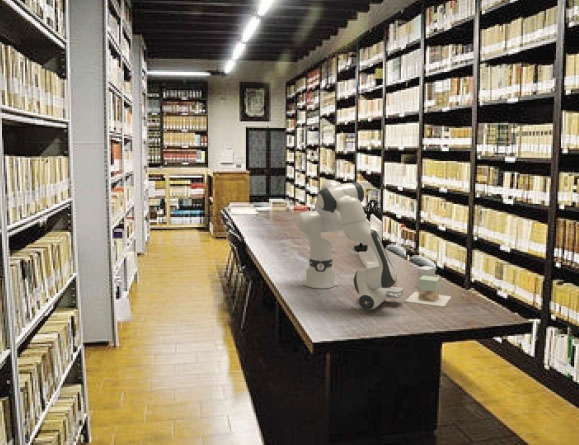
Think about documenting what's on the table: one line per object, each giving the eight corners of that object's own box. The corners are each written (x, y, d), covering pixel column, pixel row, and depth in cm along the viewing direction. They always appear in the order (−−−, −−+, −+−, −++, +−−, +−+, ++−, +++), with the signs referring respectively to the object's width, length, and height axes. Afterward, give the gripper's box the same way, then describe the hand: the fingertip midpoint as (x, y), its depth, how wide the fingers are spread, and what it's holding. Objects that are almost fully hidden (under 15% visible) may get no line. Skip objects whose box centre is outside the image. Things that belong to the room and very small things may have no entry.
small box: (425, 285, 291) (425, 265, 289) (434, 287, 287) (435, 267, 286) (416, 288, 285) (417, 267, 284) (426, 290, 282) (426, 269, 280)
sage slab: (418, 289, 262) (419, 279, 261) (422, 285, 269) (423, 275, 268) (435, 291, 259) (436, 281, 258) (439, 287, 266) (439, 277, 265)
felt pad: (405, 301, 261) (405, 300, 261) (414, 292, 277) (414, 291, 277) (444, 307, 253) (444, 306, 253) (451, 297, 269) (451, 296, 269)
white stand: (380, 269, 326) (382, 222, 322) (367, 269, 326) (368, 222, 322) (371, 257, 361) (372, 214, 357) (359, 256, 361) (360, 214, 357)
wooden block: (418, 299, 263) (418, 289, 262) (422, 295, 270) (422, 285, 269) (435, 301, 259) (435, 291, 259) (438, 297, 266) (439, 287, 266)
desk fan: (383, 254, 370) (385, 201, 365) (357, 254, 370) (358, 201, 365) (376, 246, 397) (378, 197, 392) (352, 246, 396) (353, 197, 391)
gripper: (399, 289, 249) (407, 282, 262) (356, 284, 258) (366, 277, 271) (399, 303, 250) (407, 295, 263) (356, 297, 259) (365, 290, 272)
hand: (386, 286), depth 267 cm, fingers open, 8 cm apart
